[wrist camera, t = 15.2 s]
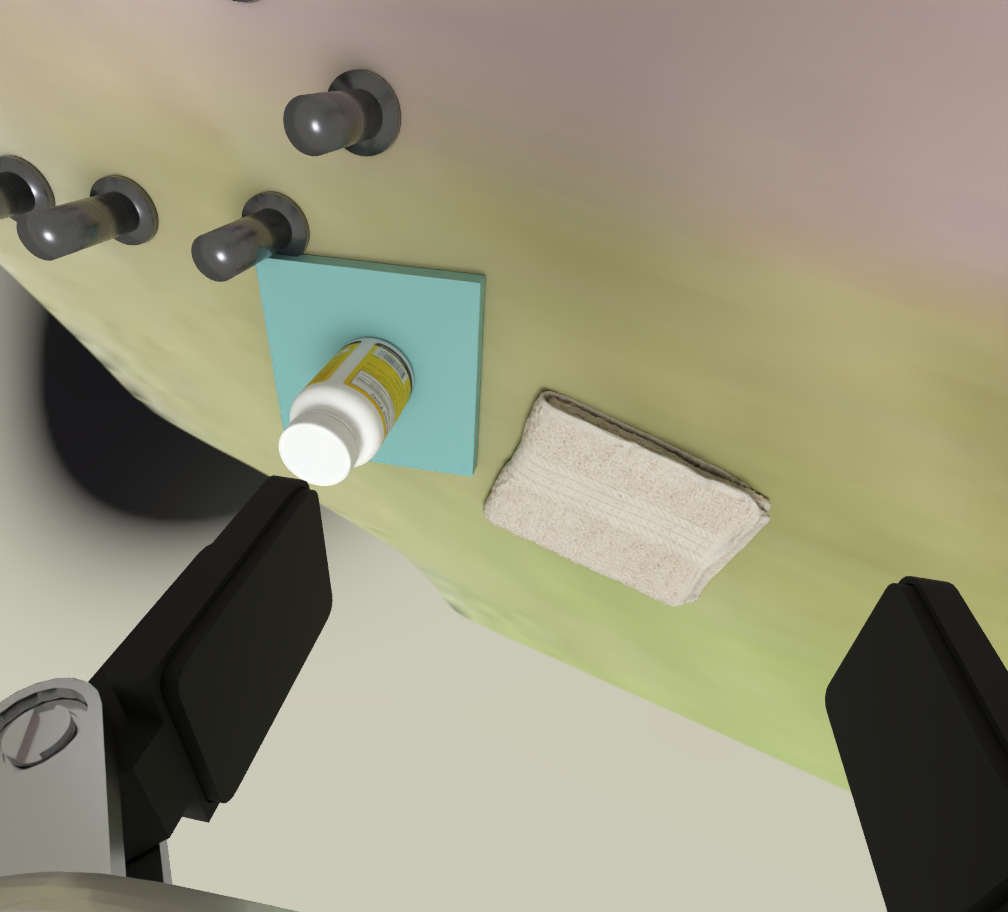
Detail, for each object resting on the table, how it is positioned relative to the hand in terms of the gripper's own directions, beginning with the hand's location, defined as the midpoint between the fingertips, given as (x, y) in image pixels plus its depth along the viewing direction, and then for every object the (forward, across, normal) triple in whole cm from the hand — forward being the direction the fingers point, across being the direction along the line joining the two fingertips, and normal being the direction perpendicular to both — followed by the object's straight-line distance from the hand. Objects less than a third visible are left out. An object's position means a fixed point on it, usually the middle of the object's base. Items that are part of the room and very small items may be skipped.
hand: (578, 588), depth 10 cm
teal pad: (+28, +14, +11) cm, 33 cm away
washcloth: (+29, -4, +19) cm, 35 cm away
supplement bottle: (+27, +14, +11) cm, 32 cm away
